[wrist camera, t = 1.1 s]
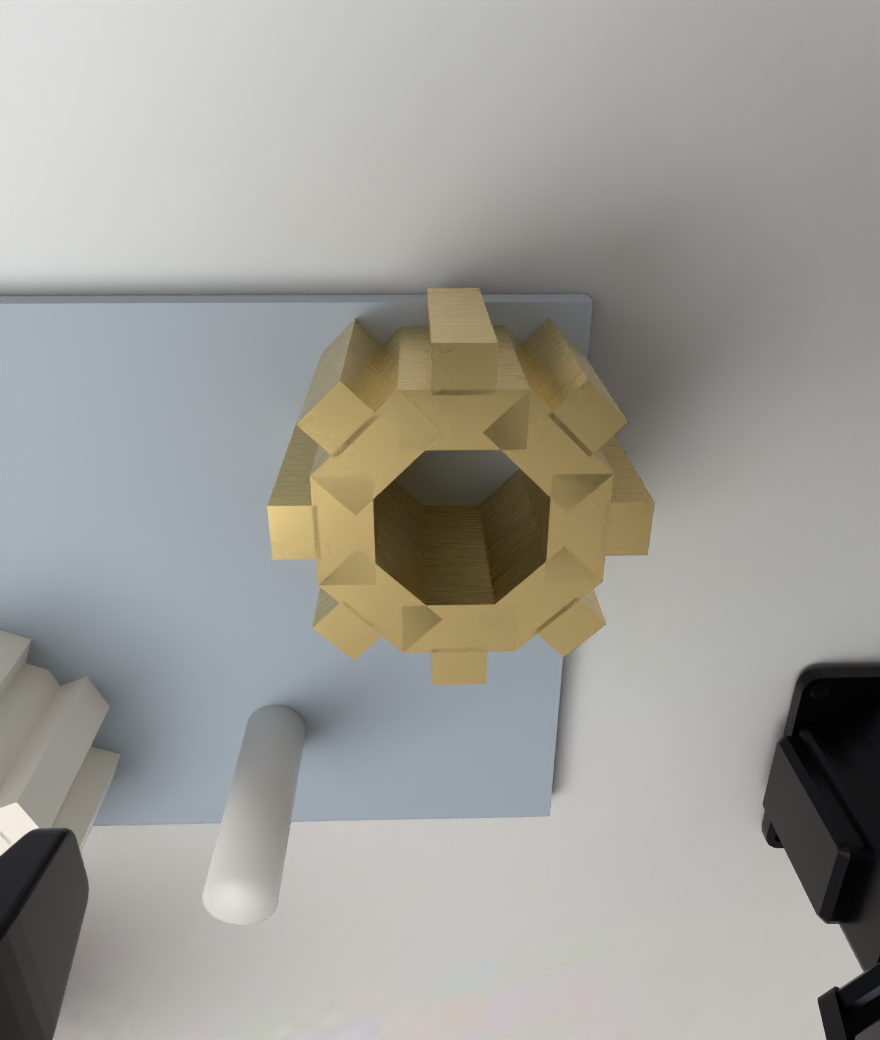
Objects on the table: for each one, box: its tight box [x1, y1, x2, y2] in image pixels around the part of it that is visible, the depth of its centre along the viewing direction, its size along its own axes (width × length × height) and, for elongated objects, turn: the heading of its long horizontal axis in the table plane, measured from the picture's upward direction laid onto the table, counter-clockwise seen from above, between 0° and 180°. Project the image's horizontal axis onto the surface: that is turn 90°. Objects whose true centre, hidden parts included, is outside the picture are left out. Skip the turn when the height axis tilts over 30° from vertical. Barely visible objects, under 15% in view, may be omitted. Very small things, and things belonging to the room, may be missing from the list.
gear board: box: [0, 294, 593, 925], centre depth 19 cm, size 20×15×6 cm
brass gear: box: [267, 288, 654, 685], centre depth 17 cm, size 7×7×4 cm
